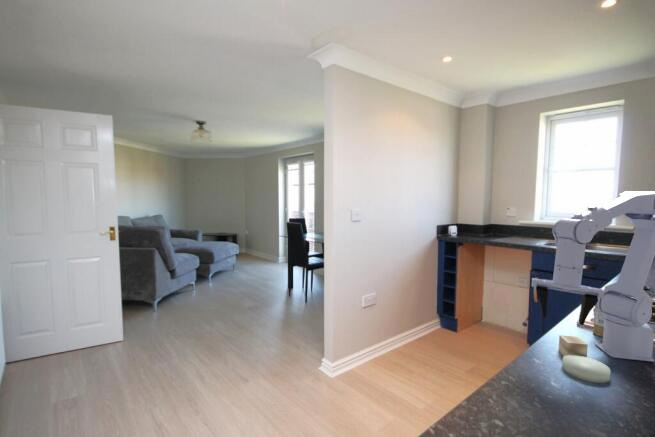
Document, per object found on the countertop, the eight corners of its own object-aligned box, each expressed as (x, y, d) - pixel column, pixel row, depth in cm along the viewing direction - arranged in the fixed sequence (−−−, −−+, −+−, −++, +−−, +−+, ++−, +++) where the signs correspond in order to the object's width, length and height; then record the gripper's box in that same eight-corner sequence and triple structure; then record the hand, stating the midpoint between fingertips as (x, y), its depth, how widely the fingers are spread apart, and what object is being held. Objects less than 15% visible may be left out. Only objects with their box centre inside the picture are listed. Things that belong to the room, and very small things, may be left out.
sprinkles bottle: (613, 335, 99) (617, 292, 98) (608, 339, 97) (612, 295, 96) (595, 330, 103) (598, 288, 102) (589, 333, 100) (592, 291, 99)
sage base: (596, 365, 82) (596, 357, 82) (619, 385, 73) (619, 376, 73) (555, 360, 84) (556, 353, 84) (573, 380, 75) (573, 371, 75)
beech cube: (577, 353, 88) (578, 337, 88) (586, 361, 84) (587, 344, 84) (558, 351, 89) (559, 335, 89) (566, 359, 85) (567, 342, 85)
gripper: (534, 264, 82) (528, 317, 83) (609, 274, 74) (602, 332, 75) (533, 260, 88) (528, 310, 89) (602, 269, 81) (596, 323, 81)
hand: (562, 319), depth 82 cm, fingers open, 7 cm apart
